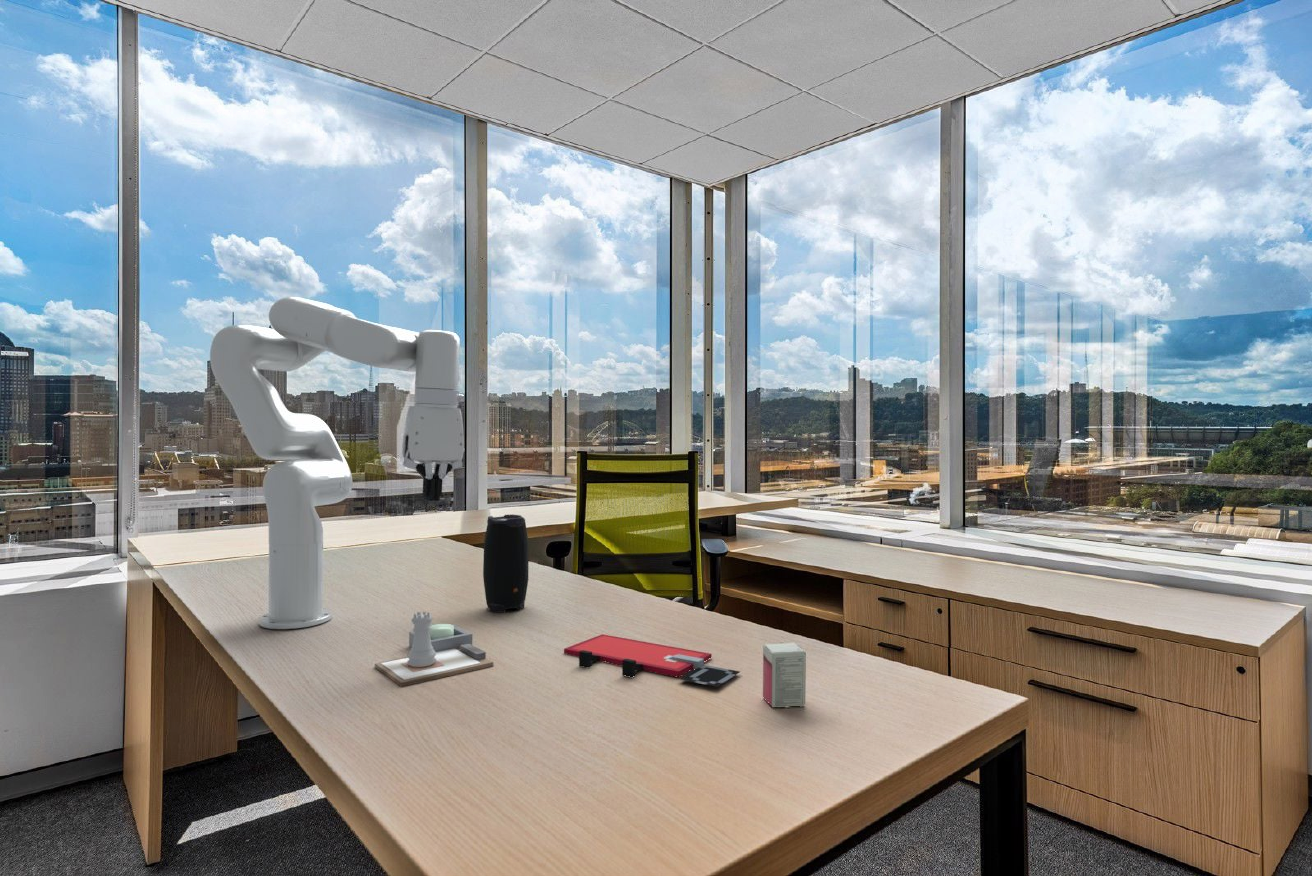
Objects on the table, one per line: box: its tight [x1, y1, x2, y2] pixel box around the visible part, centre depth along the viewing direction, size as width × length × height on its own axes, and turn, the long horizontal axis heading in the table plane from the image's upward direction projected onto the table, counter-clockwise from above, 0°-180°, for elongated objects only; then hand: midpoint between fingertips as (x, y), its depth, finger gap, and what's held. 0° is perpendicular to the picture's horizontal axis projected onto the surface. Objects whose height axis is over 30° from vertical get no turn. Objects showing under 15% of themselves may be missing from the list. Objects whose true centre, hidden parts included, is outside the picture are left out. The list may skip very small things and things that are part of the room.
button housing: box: [408, 623, 473, 652], centre depth 125 cm, size 8×8×2 cm
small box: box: [762, 642, 807, 708], centre depth 102 cm, size 5×4×8 cm
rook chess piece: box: [407, 611, 436, 668], centre depth 114 cm, size 4×4×8 cm
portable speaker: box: [482, 514, 530, 613], centre depth 152 cm, size 9×9×20 cm
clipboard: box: [374, 644, 494, 688], centre depth 115 cm, size 11×15×2 cm
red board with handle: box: [563, 633, 741, 688], centre depth 118 cm, size 30×3×15 cm
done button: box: [430, 623, 454, 640], centre depth 125 cm, size 4×4×3 cm
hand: (431, 500), depth 131 cm, fingers closed
